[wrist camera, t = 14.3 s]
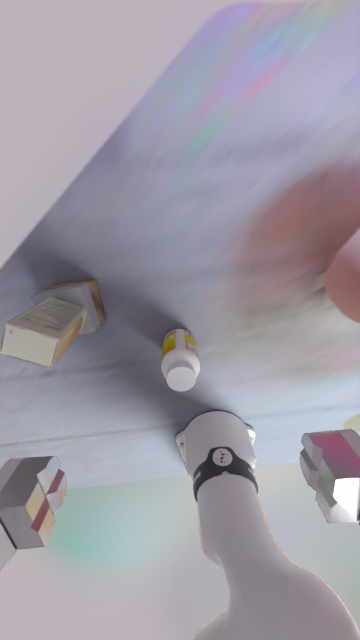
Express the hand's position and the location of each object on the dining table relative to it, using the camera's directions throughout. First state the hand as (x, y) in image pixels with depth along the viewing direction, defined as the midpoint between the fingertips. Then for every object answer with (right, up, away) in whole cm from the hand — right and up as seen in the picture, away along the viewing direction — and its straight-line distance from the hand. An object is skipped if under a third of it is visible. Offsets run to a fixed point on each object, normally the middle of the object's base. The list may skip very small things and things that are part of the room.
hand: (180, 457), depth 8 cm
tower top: (-19, +7, +36) cm, 41 cm away
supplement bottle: (0, 0, +42) cm, 42 cm away
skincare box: (-18, +6, +32) cm, 38 cm away
